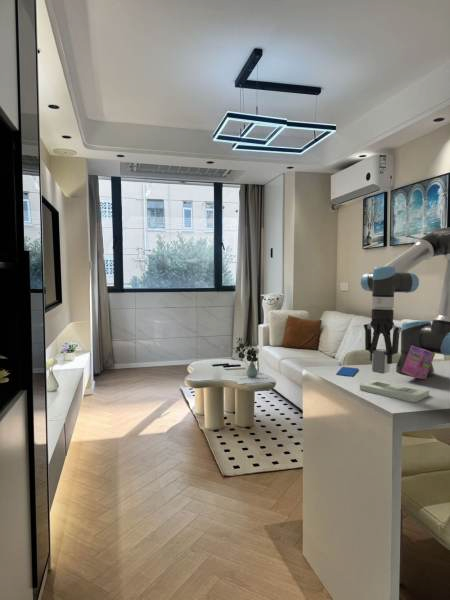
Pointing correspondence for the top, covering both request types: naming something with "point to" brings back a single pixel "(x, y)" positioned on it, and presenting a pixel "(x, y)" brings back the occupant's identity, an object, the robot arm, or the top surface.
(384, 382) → the outlet plate
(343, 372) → the smartphone
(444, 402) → the top surface
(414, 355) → the box
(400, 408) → the top surface
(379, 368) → the block
